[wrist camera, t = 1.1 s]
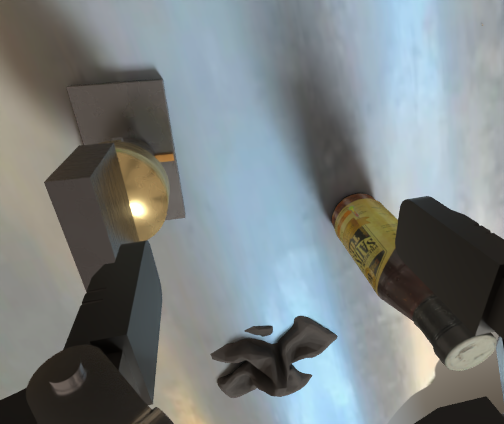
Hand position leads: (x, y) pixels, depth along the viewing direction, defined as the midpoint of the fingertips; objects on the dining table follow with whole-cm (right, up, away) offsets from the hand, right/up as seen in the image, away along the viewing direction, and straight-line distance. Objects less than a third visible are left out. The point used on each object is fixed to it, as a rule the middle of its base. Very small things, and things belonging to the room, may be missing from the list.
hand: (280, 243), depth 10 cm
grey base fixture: (-13, +6, +22) cm, 27 cm away
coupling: (-11, +3, +16) cm, 20 cm away
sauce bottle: (+12, +1, +30) cm, 32 cm away
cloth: (+1, -21, +41) cm, 46 cm away
